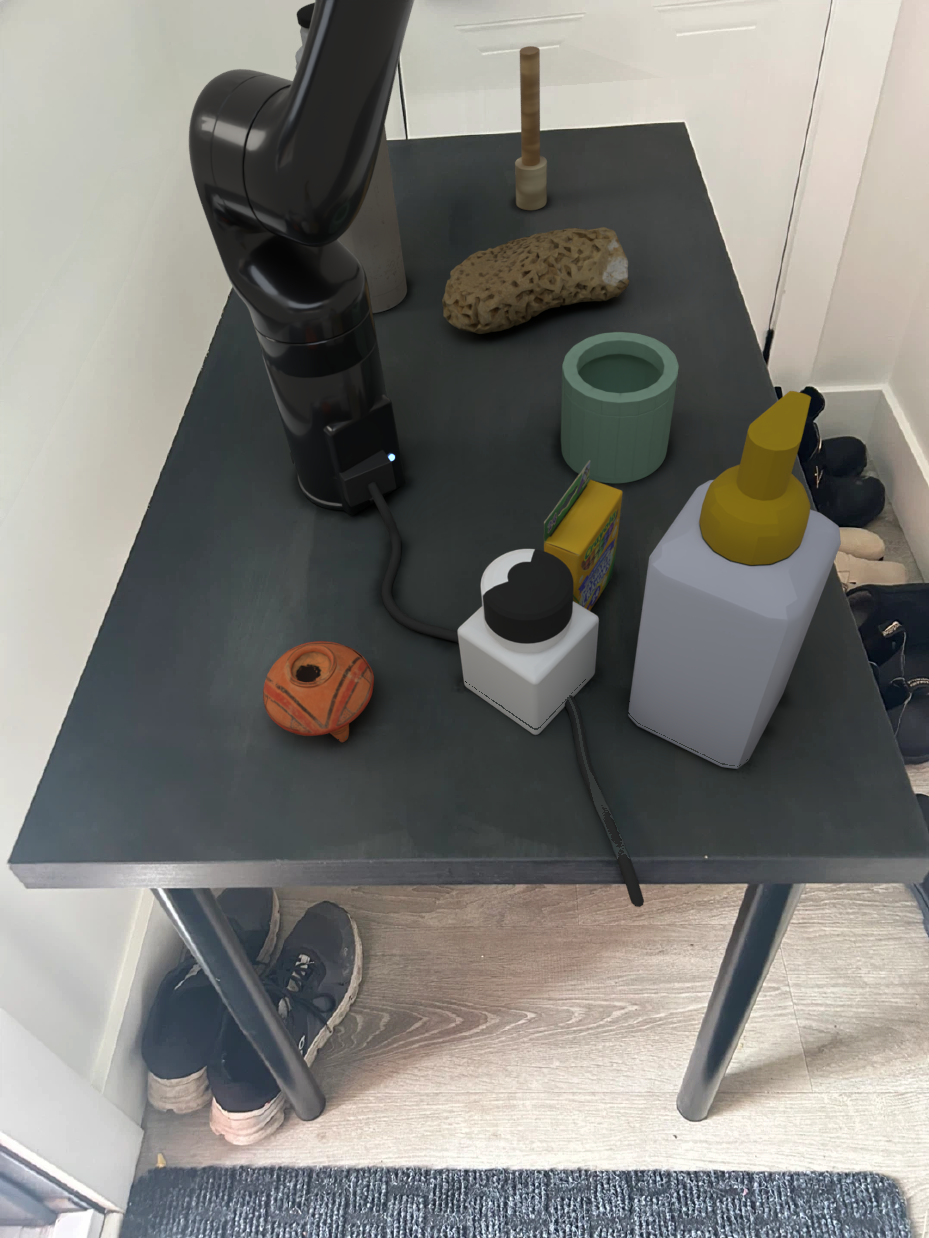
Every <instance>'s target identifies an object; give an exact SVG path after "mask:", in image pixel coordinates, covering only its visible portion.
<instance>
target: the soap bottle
mask: <svg viewBox="0 0 929 1238" xmlns="http://www.w3.org/2000/svg"><path fill="white" fill-rule="evenodd" d="M811 399H812V397H811V396H810V395H808V394H807V393H803V392H799V391H796V390H789V391H787V393H786V394H784V395H783V396H782V397H781V398H780V399H778V400H777V401H776V402H775V403H773V404H772V405H771V406H770V407H769V408H768V409H767V410H766V411H764V412H763V413H761V414H760V415H759V416H758V417H757V418H756V419H755V420H754V421H751V423H750V424H749V426H748V429H747V433H746V437H745V440H744V441H745V442H744V446H743V450H742V454H741V459H740V462H739V464H737V465H734V466H732V467H729V468H727V469H725V470H724V471H723V472H721V473H720V474H719V475H718V476H717V477H716V478H715V479H709V480H707V481H706V482H704V483H702V484H701V485H699V486H697V488H696V489H695V490H694V491H693V493H692V494H691V496H690V497H689V499H688V500H687V501H686V503H685V504H684V506H683V508H681V510H680V512H679V513H678V515H677V516H676V517H675V519H674V520H673V522H672V523H671V524H670V526H669V527H668V529H667V530H666V532H665V533H664V535H663V536H662V538H661V539H660V540H659V542H658V543H657V544H656V547H655V548H654V549H653V551H652V552H651V554H650V555H649V557H648V562H647V563H648V564H647V571H646V577H645V586H644V592H643V599H642V607H641V609H642V610H641V615H640V623H639V629H638V636H637V642H636V643H637V644H636V649H635V650H636V651H635V657H634V658H635V659H634V666H633V673H632V680H631V688H630V695H629V701H630V702H629V701H628V711H627V717H629V719H631V721H632V722H633V723H634V724H635V725H636V726H637V727H639V728H641V729H643V730H645V731H647V732H650V733H651V734H653V735H655V736H657V737H660V738H662V739H664V740H666V741H668V742H669V743H672V744H674V745H676V746H678V747H680V748H682V749H683V750H687V751H688V752H691V753H692V754H694V755H697V756H699V757H701V758H703V759H705V760H707V761H709V762H711V763H713V764H715V765H717V766H719V767H721V768H728V769H736V770H738V769H740V768H741V767H742V766H744V764H746V763H747V762H749V761H750V758H751V757H752V755H753V753H754V751H755V749H756V747H757V745H758V743H759V741H760V739H761V738H762V735H763V733H764V731H765V730H766V728H767V725H768V723H769V722H770V720H771V718H772V716H773V714H774V712H775V710H776V708H777V707H778V705H779V702H780V701H781V699H782V697H783V695H784V692H785V690H786V688H787V685H788V682H789V679H790V677H791V674H792V672H793V669H794V667H795V664H796V661H797V659H798V656H799V653H800V651H801V648H802V646H803V644H804V640H805V638H806V635H807V633H808V630H809V627H810V626H811V622H812V620H813V618H814V615H815V612H816V610H817V607H818V604H819V601H820V599H821V596H822V594H823V591H824V588H825V586H826V584H827V581H828V578H829V576H830V573H831V571H832V568H833V565H834V563H835V561H836V558H837V555H838V552H839V550H840V547H841V544H842V540H841V530H840V526H839V525H838V524H836V523H835V522H834V521H832V520H831V519H829V518H828V517H827V516H825V515H824V514H822V512H819V511H817V510H816V511H815V510H813V509H811V502H810V499H809V497H808V493H807V491H806V489H805V487H804V484H803V483H801V481H800V480H799V479H798V478H797V477H796V476H795V475H794V474H793V473H792V472H793V469H794V466H795V462H796V459H797V456H798V453H799V448H800V446H801V442H802V438H803V434H804V430H805V425H806V422H807V417H808V413H809V408H810V403H811ZM628 712H629V713H630V715H631V716H632V717H633V718H634V719H635V720H636V721H637V722H638V723H640V724H641V725H640V724H638V723H637V722H636V721H635V720H634V719H633V718H632V717H631V716H630V715H629V714H628ZM642 725H643V726H642ZM644 726H646V727H648V728H650V729H652V730H655V731H656V732H658V733H656V732H654V731H652V730H650V729H648V728H646V727H644ZM659 733H660V734H659ZM661 734H662V735H661ZM663 735H665V736H666V737H665V736H663ZM667 737H668V738H667ZM669 738H670V739H669ZM671 739H673V740H675V741H677V742H678V743H677V742H675V741H673V740H671ZM679 743H681V744H683V745H685V746H687V747H689V748H692V749H694V750H696V751H698V752H699V753H697V752H695V751H693V750H691V749H689V748H687V747H685V746H683V745H681V744H679ZM700 753H701V754H700ZM702 754H705V755H706V756H708V757H710V758H712V759H714V760H716V761H718V762H720V763H725V764H728V765H722V764H720V763H718V762H716V761H714V760H712V759H710V758H708V757H706V756H704V755H702ZM747 759H748V760H747ZM746 760H747V761H746ZM740 764H741V765H740ZM729 765H735V766H729ZM739 765H740V766H739ZM737 766H738V767H737Z"/></svg>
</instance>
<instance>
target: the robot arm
mask: <svg viewBox="0 0 929 1238" xmlns="http://www.w3.org/2000/svg"><path fill="white" fill-rule="evenodd" d="M314 3H315V6H314V11H313V15H312V19H311V24H310V28H309V32H308V36H307V39H306V43H305V47H304V50H303V53H302V56H301V60H300V63H299V66H298V69H297V71H296V70H295V74H294V76H293V79H292V80H291V79H288V78H284V77H280V76H276V75H274V74H270V73H266V72H263V71H258V70H254V69H244V68H237V69H230V70H227V71H225V72H221V73H220V74H218V75H216V76H214V77H213V78H212V79H210V80H209V81H208V82H207V83H206V84H205V86H204V87H203V88H202V89H201V91H200V93H199V95H198V96H197V99H196V101H195V103H194V105H193V107H192V112H191V116H190V118H189V119H190V120H189V126H188V151H189V162H190V168H191V173H192V177H193V181H194V185H195V188H196V191H197V194H198V198H199V201H200V205H201V207H202V209H203V213H204V216H205V218H206V221H207V223H208V227H209V229H210V233H211V235H212V238H213V241H214V243H215V246H216V250H217V251H218V254H219V257H220V260H221V263H222V265H223V268H224V271H225V274H226V276H227V278H228V281H229V283H230V284H231V287H232V288H233V289H234V292H235V293H236V294H237V295H238V297H239V299H241V301H242V302H243V303H244V304H245V306H246V307H247V309H248V312H249V314H250V318H251V322H252V324H253V328H254V331H255V334H256V338H257V341H258V345H259V348H260V351H261V355H262V359H263V362H264V366H265V369H266V373H267V375H268V379H269V383H270V386H271V390H272V392H273V393H272V394H273V396H274V399H275V403H276V406H277V409H278V413H279V416H280V419H281V423H282V427H283V429H284V434H285V436H286V440H287V443H288V446H289V450H290V452H289V456H290V459H291V462H292V465H295V469H296V473H297V480H298V484H299V488H300V490H301V491H302V493H303V495H304V496H305V498H307V499H308V500H309V501H310V502H312V503H313V504H315V505H317V506H319V507H322V508H324V509H330V510H338V511H344V512H346V513H347V515H349V516H355V515H356V514H358V513H359V512H361V511H362V510H364V509H366V508H367V507H370V506H371V505H372V504H375V505H376V508H377V510H378V512H379V514H380V517H381V519H382V521H383V523H384V525H385V527H386V529H387V531H388V534H389V537H390V544H391V545H390V546H391V552H390V560H389V563H388V567H387V569H386V571H385V575H384V577H383V579H382V580H383V581H382V583H381V590H380V591H381V600H382V602H383V605H384V606H385V608H386V610H387V612H388V613H389V614H390V616H391V617H392V618H393V619H394V620H396V621H397V622H398V623H399V624H401V625H402V626H404V627H405V628H407V629H409V630H412V631H415V632H416V633H420V634H423V635H427V636H431V637H433V638H434V637H435V638H439V639H442V640H446V641H449V642H452V643H457V644H459V640H458V630H453V629H449V628H446V627H441V626H437V625H433V624H430V623H425V622H424V621H423V622H422V621H420V620H417V619H415V618H413V617H411V616H409V615H408V614H406V613H405V612H403V610H402V609H400V607H399V606H398V605H397V604H396V602H395V601H394V598H393V591H392V590H393V585H394V581H395V578H396V575H397V572H398V569H399V566H400V563H401V559H402V558H401V557H402V541H401V540H402V539H401V535H400V532H399V528H398V525H397V523H396V521H395V519H394V516H393V515H392V512H391V510H390V507H389V506H388V504H387V502H386V500H385V498H384V497H386V496H387V495H389V494H390V493H392V492H394V491H396V490H397V489H399V488H401V487H402V486H404V485H405V484H406V477H405V472H404V465H403V460H402V454H401V448H400V442H399V435H398V430H397V423H396V419H395V418H396V417H395V413H394V406H393V402H392V400H391V399H390V398H389V397H388V393H387V389H386V388H387V387H386V382H385V377H384V371H383V364H382V359H381V354H380V348H379V342H378V337H377V336H378V335H377V329H376V324H375V319H374V313H373V312H372V306H371V298H370V292H369V287H368V281H367V277H366V273H365V271H364V268H363V266H362V264H361V263H360V261H359V260H358V259H357V258H356V256H355V255H354V254H353V253H352V252H351V251H350V250H349V249H347V248H346V247H345V246H344V245H343V244H342V243H341V242H340V241H339V240H338V238H339V237H340V236H341V235H343V234H344V233H345V232H346V231H347V229H348V228H349V227H350V225H351V224H352V222H353V221H354V220H355V218H356V216H357V214H358V212H359V210H360V208H361V206H362V204H363V202H364V199H365V197H366V194H367V191H368V189H369V185H370V182H371V179H372V175H373V172H374V168H375V164H376V160H377V156H378V152H379V147H380V143H381V139H382V134H383V130H384V125H385V126H386V120H387V115H388V111H389V107H390V103H391V98H392V94H393V93H392V92H393V88H394V83H395V79H396V75H397V72H398V71H397V70H398V65H399V62H400V57H401V53H402V48H403V43H404V41H405V36H406V33H407V28H408V24H409V21H410V18H411V14H412V10H413V6H414V3H415V0H314ZM570 698H571V700H572V702H573V704H574V706H575V709H576V712H577V715H578V719H579V724H580V729H581V735H582V741H583V747H584V752H585V756H586V760H587V764H588V767H589V770H590V772H591V773H592V775H593V776H594V779H595V781H596V783H597V785H598V787H599V789H600V790H601V792H602V789H601V786H600V784H599V781H598V779H597V776H596V773H595V771H594V768H593V765H592V762H591V758H590V754H589V750H588V749H589V747H588V742H587V736H586V730H585V726H584V721H583V717H582V714H581V711H580V708H579V705H578V704H577V701H576V699H575V698H574V697H573V696H572V695H571V696H570ZM565 709H566V711H567V713H568V716H569V718H570V721H571V726H572V732H573V739H574V745H575V751H576V757H577V761H578V764H579V768H580V772H581V774H582V778H583V780H584V783H585V786H586V789H587V791H588V794H589V796H590V798H591V801H592V803H593V805H594V801H593V797H592V793H591V789H590V782H589V778H588V774H587V770H586V767H585V764H584V760H583V756H582V752H581V747H580V741H579V734H578V728H577V723H576V718H575V715H574V711H573V709H572V706H571V704H570V702H569V700H568V699H567V700H566V702H565ZM602 794H603V795H604V793H603V792H602ZM601 806H603V805H601ZM594 808H595V809H596V807H595V805H594ZM602 809H603V810H604V812H603V813H605V814H604V815H603V816H605V817H604V819H605V820H604V819H603V820H604V822H605V824H606V827H607V829H609V830H608V832H610V833H609V834H612V835H611V838H612V839H611V840H612V841H613V842H614V841H615V842H614V843H615V844H618V845H617V846H616V847H619V848H620V847H622V846H624V845H622V846H621V844H622V842H620V841H622V839H623V838H622V839H621V838H620V836H619V834H621V832H620V831H619V832H620V833H619V832H618V831H617V827H618V826H617V827H616V825H617V824H616V825H615V823H616V821H615V819H614V820H613V819H612V818H611V817H610V815H611V814H612V813H611V814H610V813H609V811H608V810H605V809H607V808H604V807H602ZM605 811H608V812H605ZM596 813H597V814H598V812H597V811H596ZM603 813H602V814H603ZM614 821H615V822H614ZM622 849H624V848H622ZM619 852H621V853H619ZM619 852H618V854H619V855H618V856H619V857H618V859H617V858H616V861H617V864H618V867H619V869H620V872H621V875H622V877H623V881H624V884H625V887H626V890H627V894H628V896H629V899H630V903H631V904H632V905H633V906H634V907H636V908H641V907H642V906H644V902H645V899H644V896H643V892H642V889H641V886H640V883H639V880H638V876H637V874H636V871H635V868H634V865H633V862H632V859H631V858H630V859H629V858H628V857H627V855H626V854H623V855H621V854H622V853H624V851H623V850H621V849H620V850H619Z"/></svg>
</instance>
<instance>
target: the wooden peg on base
mask: <svg viewBox="0 0 929 1238" xmlns="http://www.w3.org/2000/svg"><path fill="white" fill-rule="evenodd" d="M519 86H520V87H519V89H520V90H519V91H520V93H519V94H520V96H519V97H520V141H521V142H520V143H521V144H520V146H521V156H520V157H518V158H517V159H516V160H515V161H514V169H515V170H514V171H515V174H514V175H515V177H514V178H515V204H516V206H517V208H519V209H520V210H524V211H537V210H540V209H542V208H544V207H545V206H546V205H547V202H548V193H547V192H548V161H547V158H545V157H544V156H542V155H541V51H540V48H539V47H537V46H532V45H529V46H523V47H522V48H520V49H519Z"/></svg>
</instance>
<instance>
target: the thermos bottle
mask: <svg viewBox="0 0 929 1238" xmlns="http://www.w3.org/2000/svg"><path fill="white" fill-rule="evenodd" d="M314 6H315V2H311V3H309V4H306V5H304V6H301V8H299V9H298V10H297V12H296V19H297V24H298V25H299V26H300V29H299V35H300V40H301V44H302V45H301V46H300V47H299V48H298V49H297V51H296V52H295V56H294V57H295V62H296V64H295V72H296V71H297V69H298V66H299V63H300V60H301V56H302V53H303V50H304V47H305V43H306V39H307V36H308V32H309V28H310V24H311V19H312V15H313V11H314ZM338 240H339V241H340V242H341V243H342V244H343V245H344V246H345V247H346V248H347V249H349V250H350V251H351V252H352V253H353V254H354V255H355V256H356V258H357V259H358V260H359V261H360V263H361V264H362V266H363V268H364V271H365V273H366V277H367V281H368V287H369V292H370V298H371V306H372V312H373V314H377V313H382V312H384V311H388V310H390V309H392V308H394V307H396V306H398V305H399V304H400V303H402V301H403V300H404V299H405V298H406V295H407V293H408V286H407V277H406V270H405V263H404V257H403V250H402V249H403V248H402V242H401V234H400V227H399V219H398V213H397V205H396V197H395V191H394V181H393V176H392V168H391V161H390V153H389V147H388V138H387V133H386V124H385V125H384V130H383V134H382V139H381V143H380V147H379V152H378V156H377V160H376V164H375V168H374V172H373V175H372V179H371V182H370V185H369V189H368V191H367V194H366V197H365V199H364V202H363V204H362V206H361V208H360V210H359V212H358V214H357V216H356V218H355V220H354V221H353V222H352V224H351V225H350V227H349V228H348V229H347V231H346V232H345V233H344V234H343V235H341V236H340V237H339V238H338Z"/></svg>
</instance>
